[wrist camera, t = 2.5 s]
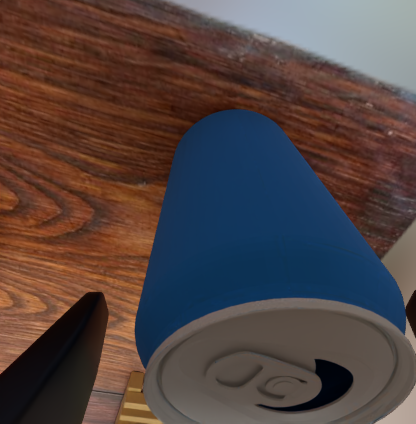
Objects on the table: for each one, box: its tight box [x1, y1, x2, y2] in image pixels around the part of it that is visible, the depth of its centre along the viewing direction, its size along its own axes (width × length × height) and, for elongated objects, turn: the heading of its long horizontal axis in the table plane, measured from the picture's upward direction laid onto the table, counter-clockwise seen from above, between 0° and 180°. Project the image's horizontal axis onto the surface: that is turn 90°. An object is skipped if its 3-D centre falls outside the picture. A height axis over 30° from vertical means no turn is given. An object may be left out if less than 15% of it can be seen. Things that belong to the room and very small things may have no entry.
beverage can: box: [135, 109, 416, 424], centre depth 11 cm, size 6×6×12 cm
